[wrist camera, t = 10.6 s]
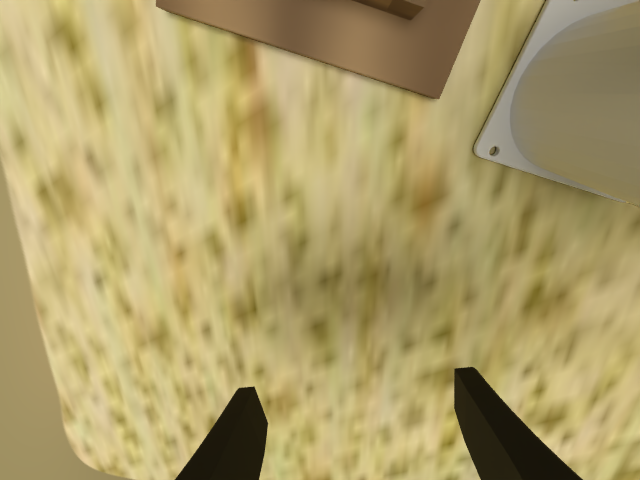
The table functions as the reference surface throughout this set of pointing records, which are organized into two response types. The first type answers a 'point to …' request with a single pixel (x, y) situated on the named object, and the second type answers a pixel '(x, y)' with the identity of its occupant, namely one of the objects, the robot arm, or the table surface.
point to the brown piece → (351, 33)
